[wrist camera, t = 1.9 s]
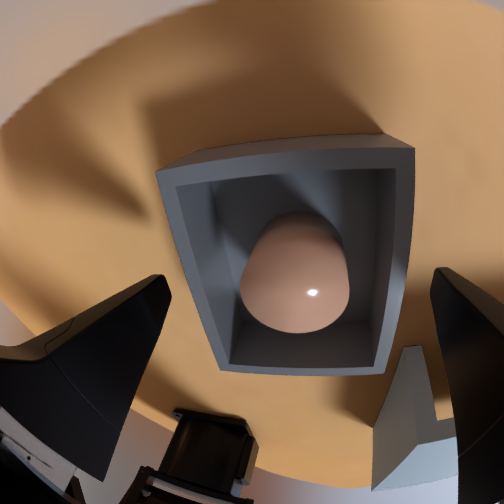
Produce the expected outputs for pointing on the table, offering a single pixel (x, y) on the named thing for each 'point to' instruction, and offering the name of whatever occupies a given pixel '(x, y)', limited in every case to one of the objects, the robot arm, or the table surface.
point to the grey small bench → (412, 431)
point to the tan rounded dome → (296, 274)
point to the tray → (289, 200)
